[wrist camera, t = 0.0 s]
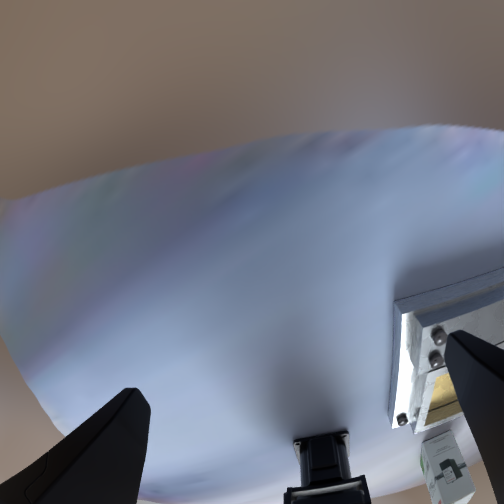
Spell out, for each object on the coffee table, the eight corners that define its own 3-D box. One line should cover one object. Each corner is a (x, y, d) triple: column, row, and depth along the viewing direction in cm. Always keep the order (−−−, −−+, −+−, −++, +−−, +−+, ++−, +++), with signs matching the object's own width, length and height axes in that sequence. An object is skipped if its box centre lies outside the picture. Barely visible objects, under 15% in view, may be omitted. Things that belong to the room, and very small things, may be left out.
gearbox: (486, 378, 27) (502, 403, 22) (387, 415, 28) (397, 446, 24) (513, 263, 21) (541, 285, 17) (393, 301, 23) (414, 333, 19)
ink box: (446, 452, 33) (465, 507, 22) (419, 464, 34) (435, 521, 23) (452, 427, 30) (478, 491, 19) (421, 441, 31) (443, 508, 20)
